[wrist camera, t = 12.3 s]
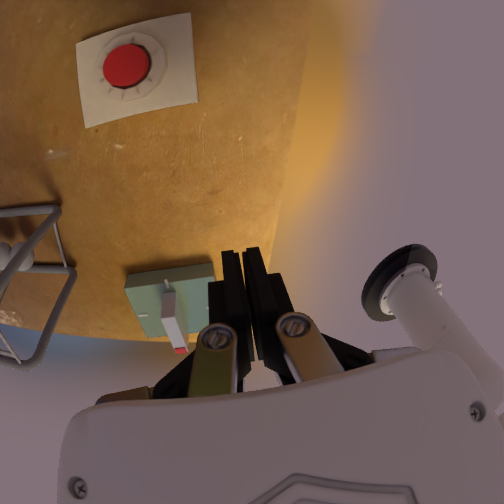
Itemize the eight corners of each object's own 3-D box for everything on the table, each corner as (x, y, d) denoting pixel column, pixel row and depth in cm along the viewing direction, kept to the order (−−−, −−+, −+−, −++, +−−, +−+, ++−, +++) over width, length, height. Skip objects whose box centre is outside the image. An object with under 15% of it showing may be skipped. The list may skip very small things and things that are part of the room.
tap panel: (212, 258, 35) (213, 273, 33) (223, 317, 41) (225, 332, 39) (126, 270, 34) (121, 285, 31) (150, 326, 40) (148, 341, 38)
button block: (191, 17, 19) (189, 6, 16) (198, 101, 24) (197, 102, 21) (83, 46, 18) (68, 41, 14) (92, 126, 23) (78, 131, 20)
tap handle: (163, 292, 33) (159, 320, 29) (176, 291, 33) (174, 318, 29) (176, 328, 37) (175, 354, 33) (188, 327, 37) (188, 353, 33)
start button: (147, 42, 17) (143, 39, 16) (151, 80, 19) (147, 79, 18) (107, 53, 17) (100, 51, 15) (111, 91, 19) (104, 91, 18)
